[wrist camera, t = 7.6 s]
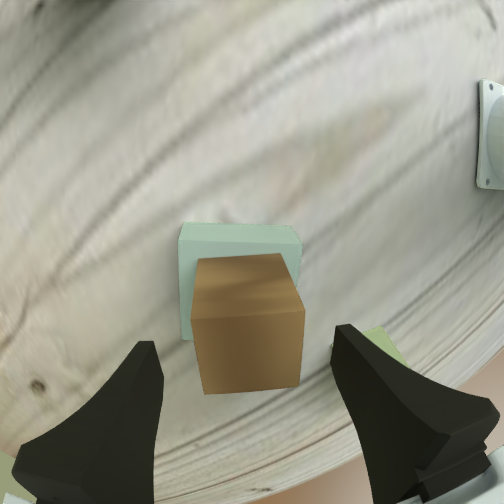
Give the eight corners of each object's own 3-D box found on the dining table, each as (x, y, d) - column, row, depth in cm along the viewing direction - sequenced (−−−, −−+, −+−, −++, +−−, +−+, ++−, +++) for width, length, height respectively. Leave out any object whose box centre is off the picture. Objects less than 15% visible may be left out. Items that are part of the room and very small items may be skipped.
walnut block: (280, 253, 15) (305, 310, 11) (279, 319, 17) (298, 386, 12) (198, 258, 15) (190, 319, 11) (206, 325, 17) (204, 394, 12)
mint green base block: (290, 224, 18) (303, 244, 15) (278, 311, 20) (287, 340, 18) (184, 220, 17) (178, 239, 15) (185, 310, 20) (181, 339, 17)
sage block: (380, 325, 22) (410, 369, 17) (381, 360, 23) (407, 402, 19) (331, 343, 22) (354, 393, 17) (337, 377, 23) (357, 423, 19)
